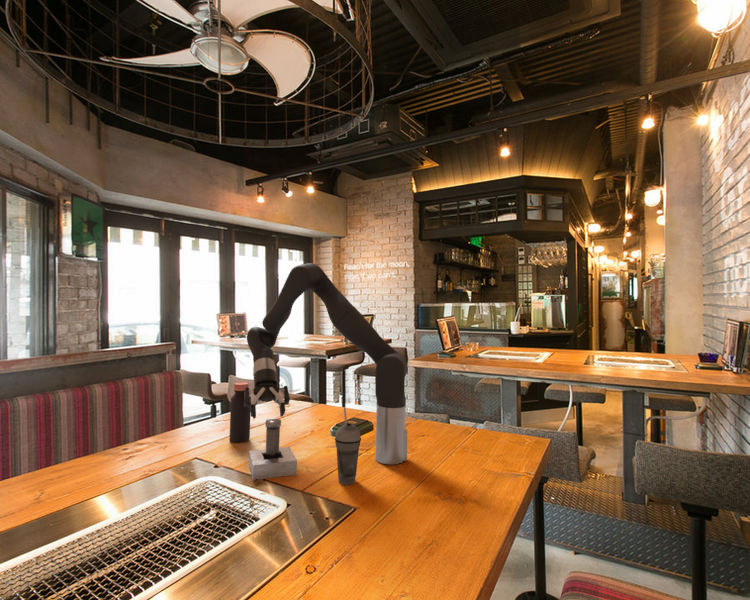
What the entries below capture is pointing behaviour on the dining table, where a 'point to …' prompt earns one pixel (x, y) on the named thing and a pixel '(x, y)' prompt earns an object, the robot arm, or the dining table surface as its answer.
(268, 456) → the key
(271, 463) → the block
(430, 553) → the dining table surface
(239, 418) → the bottle
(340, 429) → the beverage cup
